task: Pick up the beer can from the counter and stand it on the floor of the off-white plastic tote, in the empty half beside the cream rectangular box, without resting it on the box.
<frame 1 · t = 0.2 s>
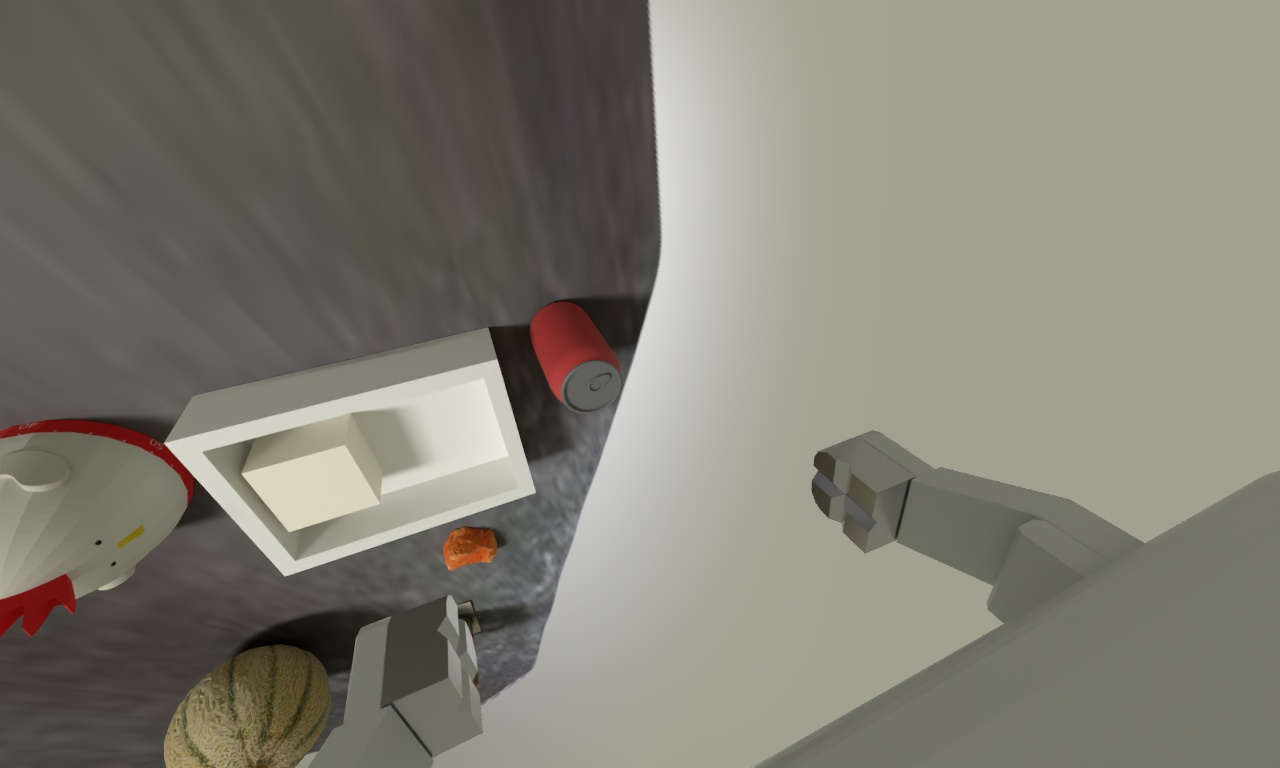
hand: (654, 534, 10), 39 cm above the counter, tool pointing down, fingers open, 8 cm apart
condiment: (450, 622, 70), on the counter
cream rectangular box: (323, 454, 47), point 1 cm above the counter, touching tote
beer can: (558, 327, 50), on the counter
kitchen timer: (89, 481, 41), on the counter
cantaloupe: (269, 655, 60), on the counter
rock: (467, 537, 63), on the counter
tote: (388, 430, 49), on the counter
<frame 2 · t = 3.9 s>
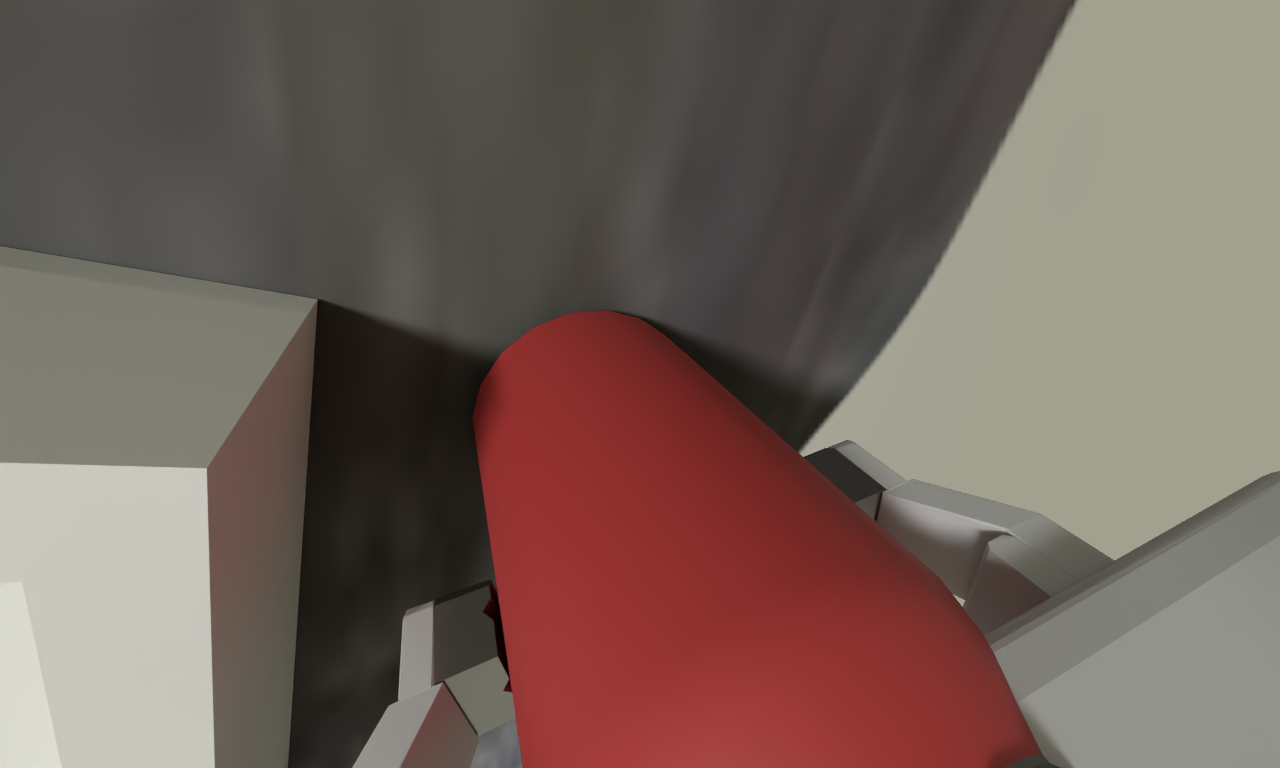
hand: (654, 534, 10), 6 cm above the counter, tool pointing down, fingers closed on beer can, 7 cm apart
beer can: (581, 402, 15), on the counter, touching gripper
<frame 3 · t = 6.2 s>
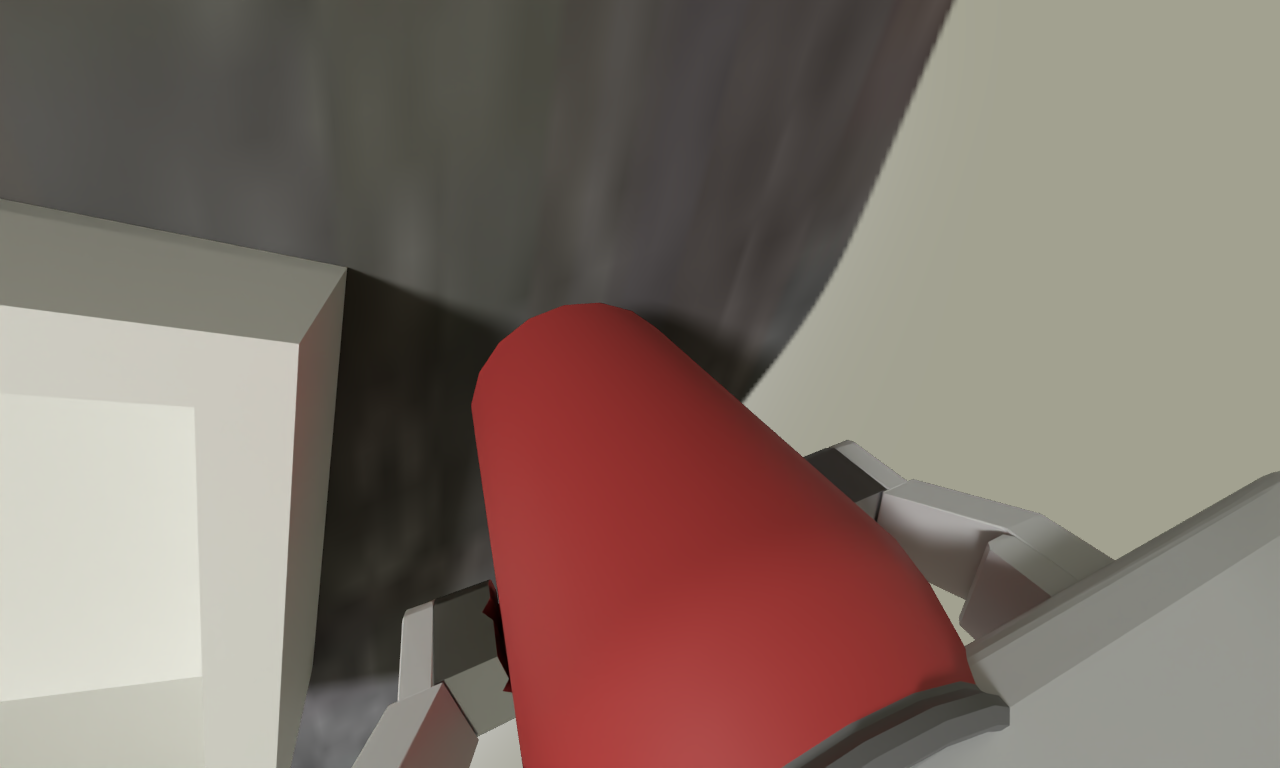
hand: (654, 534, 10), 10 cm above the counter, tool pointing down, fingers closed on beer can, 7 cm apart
beer can: (576, 392, 15), point 4 cm above the counter, touching gripper
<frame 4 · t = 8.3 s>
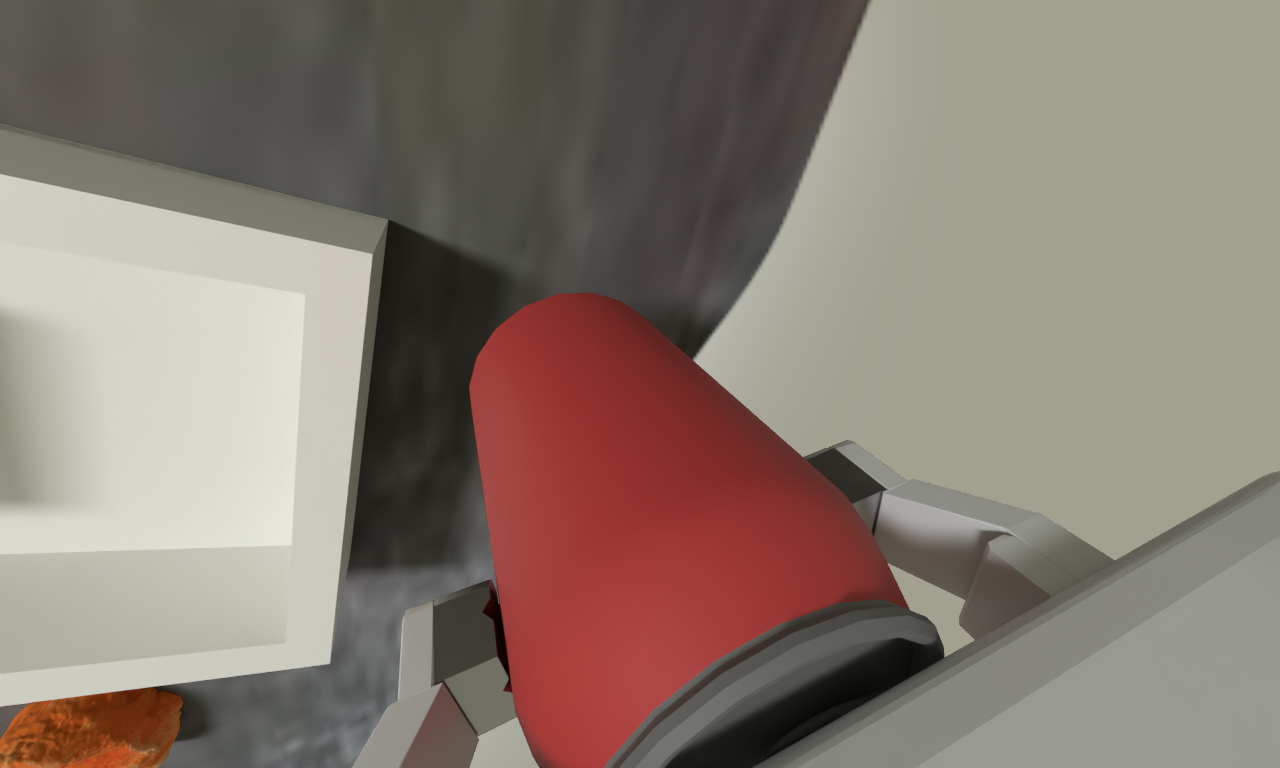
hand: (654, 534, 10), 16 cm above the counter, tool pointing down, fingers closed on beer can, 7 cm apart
beer can: (568, 378, 16), point 8 cm above the counter, touching gripper
rock: (108, 699, 25), on the counter
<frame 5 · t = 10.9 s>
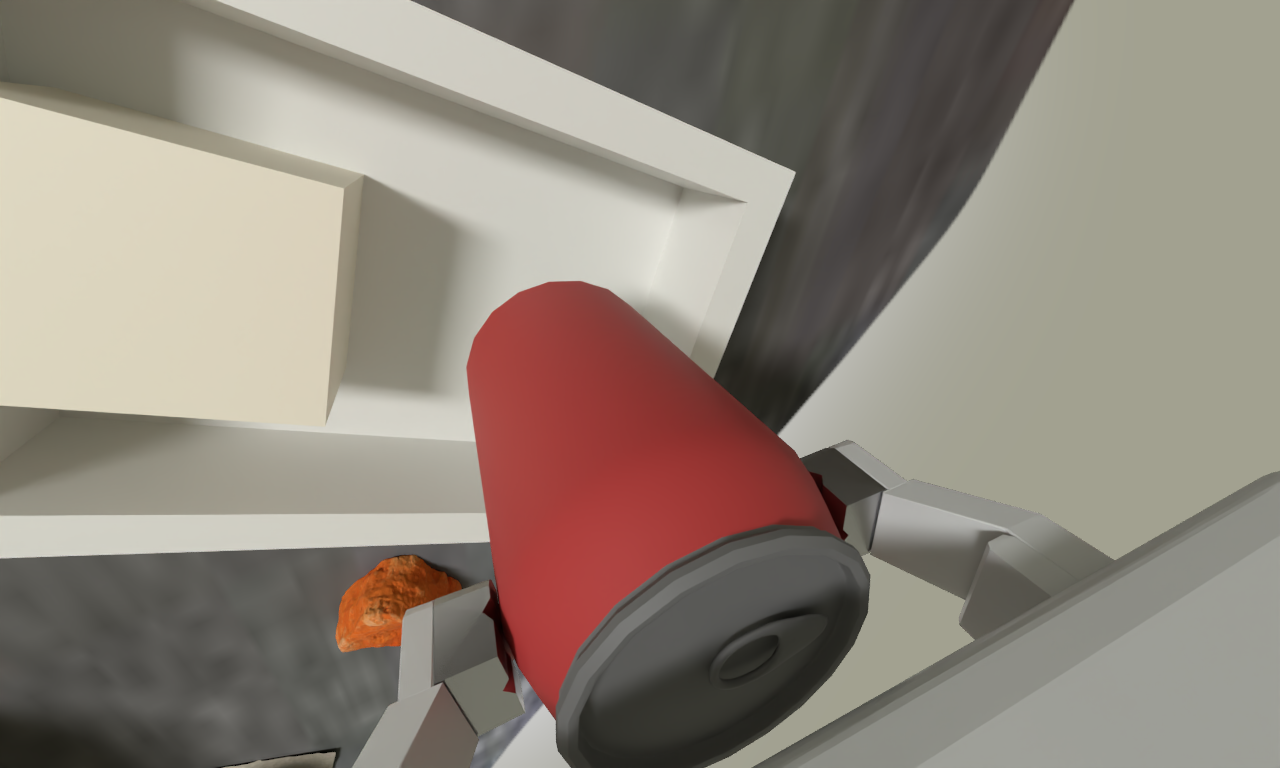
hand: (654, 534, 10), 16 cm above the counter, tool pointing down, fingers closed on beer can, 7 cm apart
cream rectangular box: (227, 253, 17), point 1 cm above the counter, touching tote
beer can: (559, 362, 17), point 7 cm above the counter, touching gripper
rock: (403, 584, 29), on the counter
tote: (410, 281, 21), on the counter
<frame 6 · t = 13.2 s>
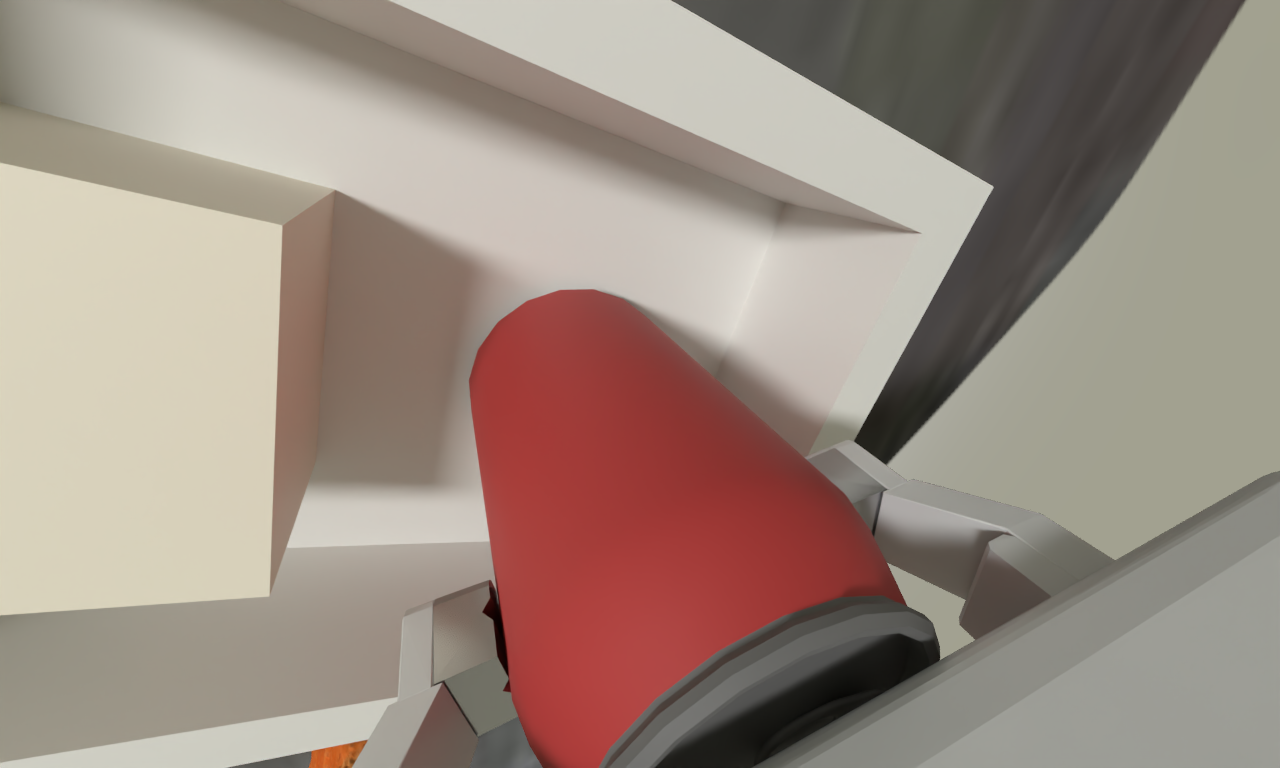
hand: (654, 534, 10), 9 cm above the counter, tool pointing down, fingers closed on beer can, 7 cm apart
cream rectangular box: (121, 312, 11), point 1 cm above the counter, touching tote
beer can: (567, 374, 16), point 1 cm above the counter, touching gripper, tote
rock: (396, 696, 23), on the counter
tote: (407, 338, 15), on the counter
when the fingers open (8 cm above the counter, at t = 14.2 s): beer can stays where it is, resting on tote.
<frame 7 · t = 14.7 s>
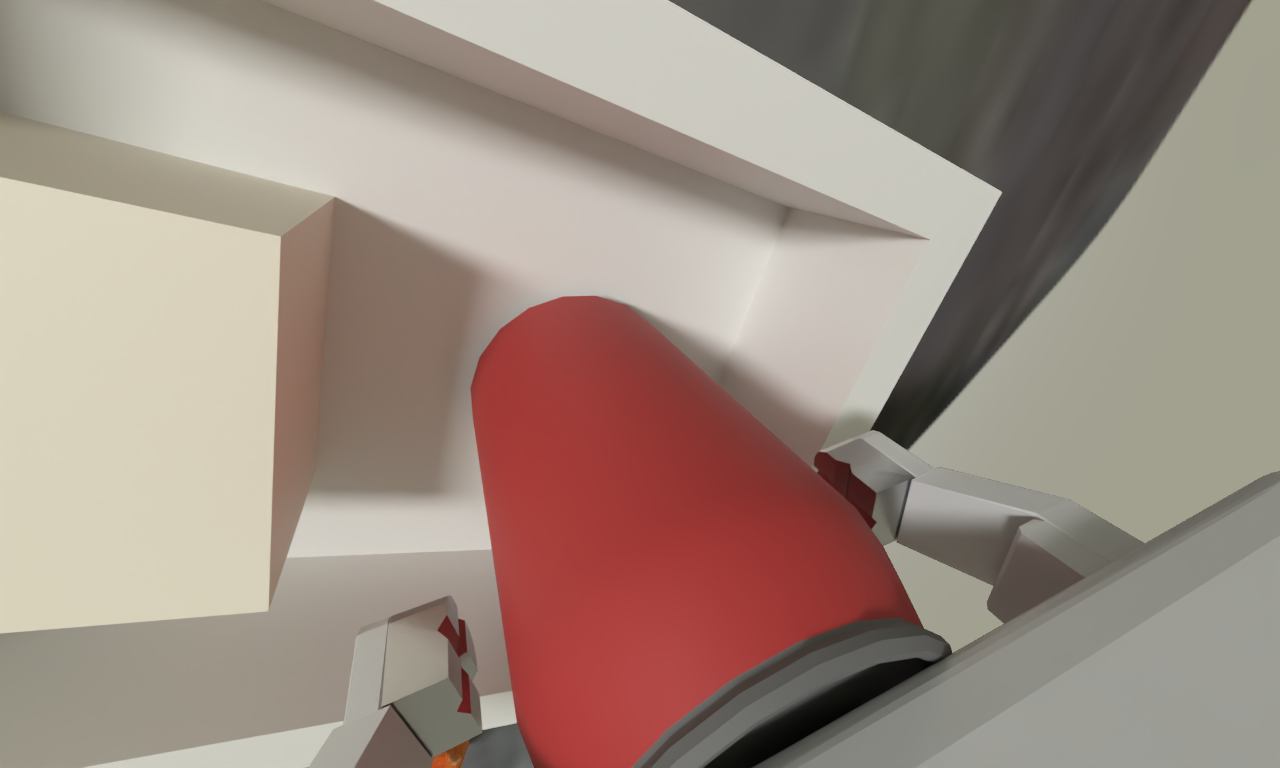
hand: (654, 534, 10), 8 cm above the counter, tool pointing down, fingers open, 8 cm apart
cream rectangular box: (118, 322, 11), point 1 cm above the counter, touching tote
beer can: (570, 381, 16), point 1 cm above the counter, touching tote
rock: (396, 702, 22), on the counter
tote: (407, 346, 14), on the counter
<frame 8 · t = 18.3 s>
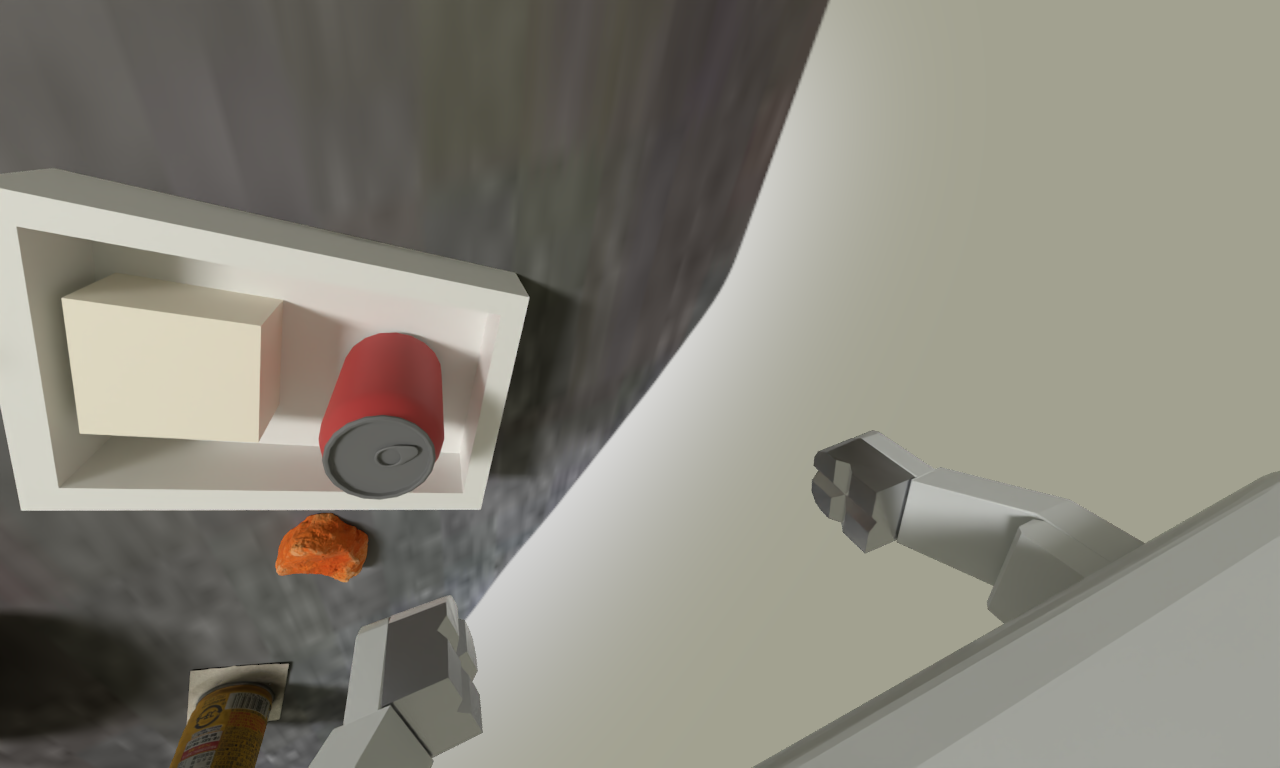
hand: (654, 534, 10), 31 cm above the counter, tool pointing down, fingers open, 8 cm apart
condiment: (239, 692, 46), on the counter
cream rectangular box: (206, 345, 31), point 1 cm above the counter, touching tote
beer can: (395, 368, 36), point 1 cm above the counter, touching tote
rock: (326, 535, 42), on the counter
tote: (318, 353, 34), on the counter
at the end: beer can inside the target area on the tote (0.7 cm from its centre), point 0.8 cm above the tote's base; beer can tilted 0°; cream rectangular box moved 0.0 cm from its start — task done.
